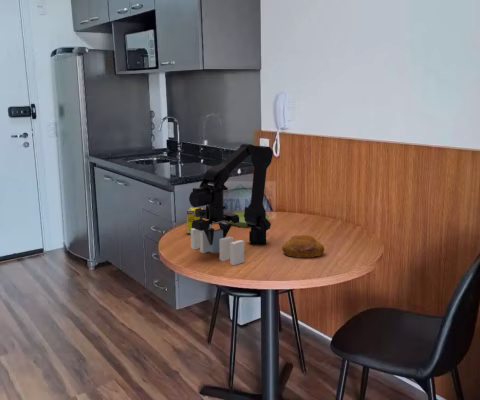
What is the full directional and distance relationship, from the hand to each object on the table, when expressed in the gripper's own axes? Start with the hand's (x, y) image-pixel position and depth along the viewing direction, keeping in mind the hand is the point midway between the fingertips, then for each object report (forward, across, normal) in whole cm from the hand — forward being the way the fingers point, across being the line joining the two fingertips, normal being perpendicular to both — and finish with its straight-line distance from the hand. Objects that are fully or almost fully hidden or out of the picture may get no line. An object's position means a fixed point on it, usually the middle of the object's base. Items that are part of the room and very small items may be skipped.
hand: (216, 243), depth 183 cm
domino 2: (+5, 0, -6) cm, 8 cm away
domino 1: (+5, 0, -12) cm, 13 cm away
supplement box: (+5, -11, -29) cm, 31 cm away
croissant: (+5, -27, +20) cm, 34 cm away
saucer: (+5, -41, -28) cm, 50 cm away
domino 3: (+3, 0, 0) cm, 3 cm away
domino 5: (+5, 0, +12) cm, 13 cm away
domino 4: (+5, 0, +6) cm, 8 cm away
